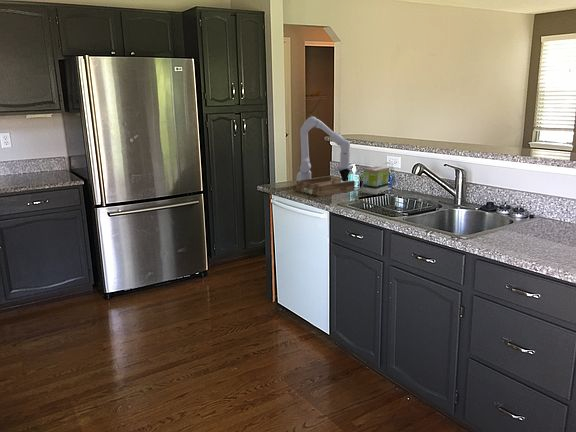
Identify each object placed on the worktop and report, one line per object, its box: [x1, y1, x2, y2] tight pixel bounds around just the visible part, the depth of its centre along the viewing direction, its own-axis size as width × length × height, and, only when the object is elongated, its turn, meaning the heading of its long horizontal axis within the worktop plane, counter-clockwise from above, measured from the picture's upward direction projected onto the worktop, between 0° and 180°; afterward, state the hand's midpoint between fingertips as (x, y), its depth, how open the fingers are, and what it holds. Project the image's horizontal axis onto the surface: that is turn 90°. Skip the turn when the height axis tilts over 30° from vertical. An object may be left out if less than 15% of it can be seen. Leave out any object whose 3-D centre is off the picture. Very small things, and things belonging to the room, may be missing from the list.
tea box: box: [362, 165, 390, 195], centre depth 309 cm, size 15×10×15 cm, turn 143°
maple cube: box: [331, 176, 342, 184], centre depth 320 cm, size 4×4×4 cm
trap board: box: [296, 175, 356, 197], centre depth 315 cm, size 22×28×6 cm
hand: (344, 181), depth 324 cm, fingers closed
